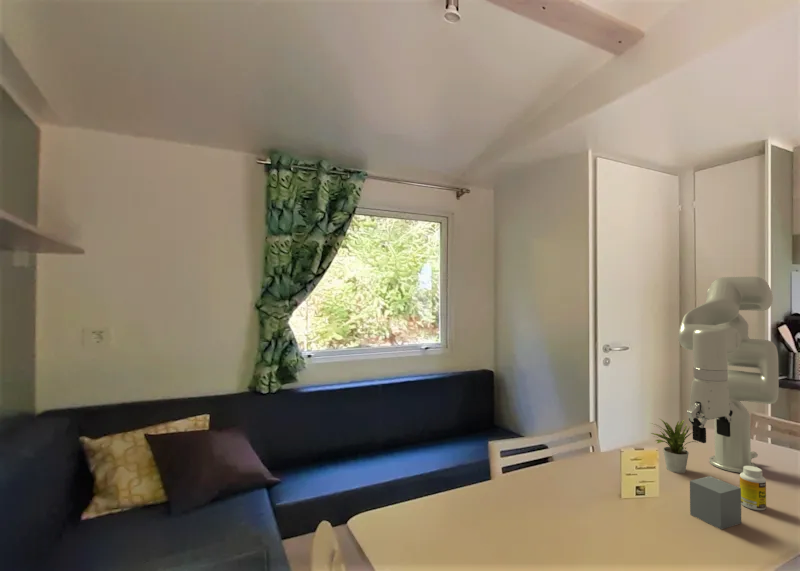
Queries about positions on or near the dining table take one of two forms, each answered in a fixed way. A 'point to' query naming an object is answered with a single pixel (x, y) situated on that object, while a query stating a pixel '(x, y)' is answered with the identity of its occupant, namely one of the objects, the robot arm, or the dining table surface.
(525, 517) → the dining table surface
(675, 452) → the house plant
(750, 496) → the supplement bottle
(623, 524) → the dining table surface
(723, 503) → the grey rectangular block
